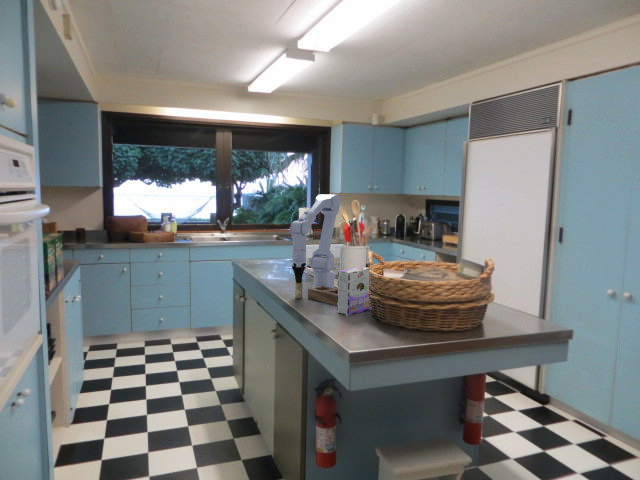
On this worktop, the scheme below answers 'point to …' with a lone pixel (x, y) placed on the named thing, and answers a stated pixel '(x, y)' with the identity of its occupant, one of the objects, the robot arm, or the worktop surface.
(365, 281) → the candy box
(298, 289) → the pin
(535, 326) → the worktop surface
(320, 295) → the socket block
